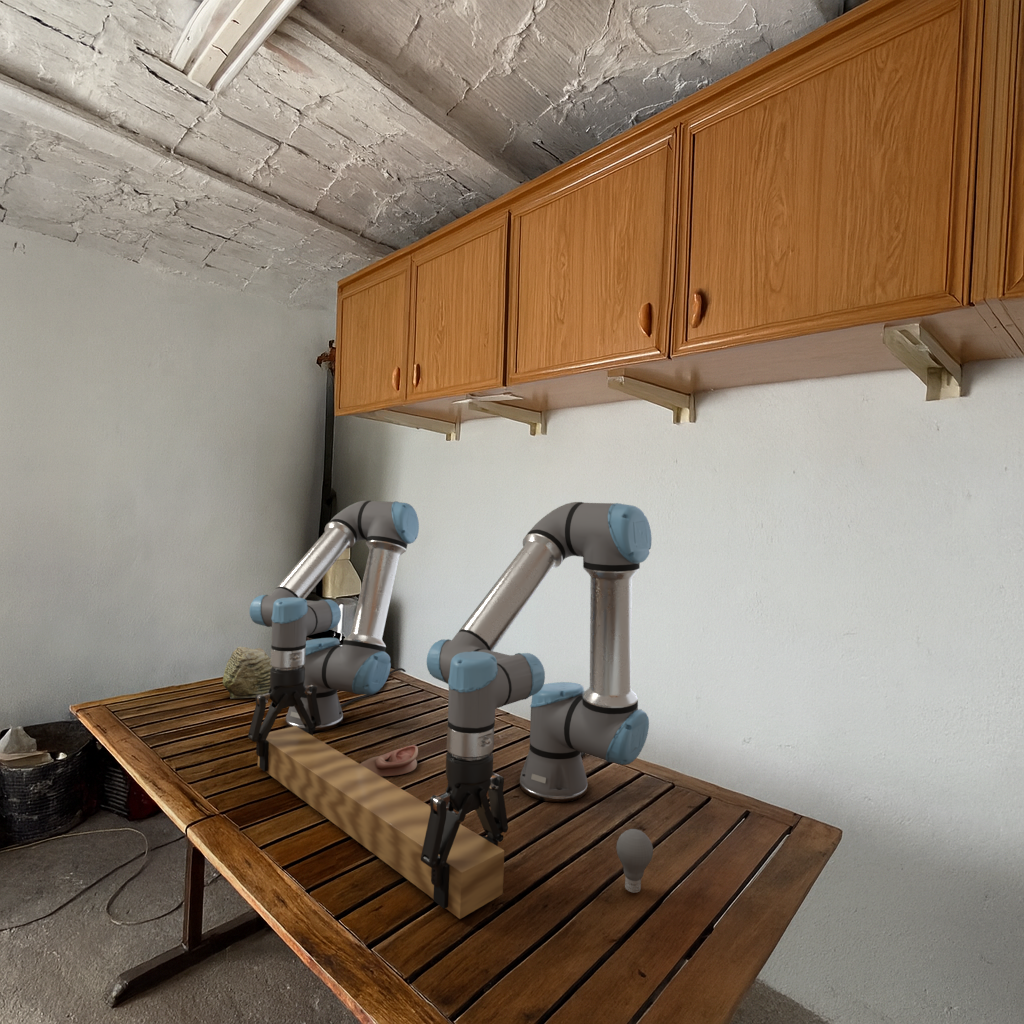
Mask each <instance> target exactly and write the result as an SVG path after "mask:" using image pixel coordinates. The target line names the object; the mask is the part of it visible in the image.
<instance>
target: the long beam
mask: <svg viewBox="0 0 1024 1024" xmlns="http://www.w3.org/2000/svg"><path fill="white" fill-rule="evenodd" d="M266 740H267V741H268V742H269V753H268V771H265V772H264V773H266V774H267V775H269V776H271V777H272V778H273V779H274V780H276V781H277V782H278V783H280V785H282V786H283V787H285V788H286V789H287V790H289V791H290V792H292V794H294V795H295V796H296V797H298V798H299V799H301V800H302V801H304V802H305V803H306V804H307V805H308V806H310V807H311V808H312V809H314V810H315V811H316V812H318V813H319V814H321V816H323V817H324V818H326V819H327V820H329V822H331V823H332V824H334V825H335V826H336V827H338V828H339V829H341V830H342V831H343V832H344V833H345V834H347V835H348V836H350V837H351V838H352V839H353V840H355V841H356V842H357V843H359V844H360V845H361V846H363V847H364V848H365V849H366V850H368V851H369V852H370V853H371V854H373V855H374V856H375V857H377V858H378V859H379V860H381V861H382V862H383V863H384V864H386V865H388V866H389V867H390V868H391V869H393V870H394V871H396V872H397V873H398V874H399V875H400V876H401V877H403V878H405V879H406V880H407V881H409V882H410V883H412V884H413V885H414V886H415V887H417V889H419V890H420V891H422V892H423V893H424V894H426V895H427V896H428V897H429V898H431V899H433V896H434V885H433V884H432V882H431V867H429V866H428V865H426V864H425V863H424V862H422V861H421V854H422V849H423V845H424V840H425V835H426V831H427V826H428V821H429V816H430V812H431V808H430V804H428V803H426V802H424V801H422V800H421V799H419V798H418V797H416V796H414V795H412V794H411V793H409V792H407V791H406V790H405V789H402V788H400V787H399V786H397V785H396V784H394V783H393V782H390V781H389V780H387V779H386V778H384V777H383V776H379V775H377V774H376V773H374V772H372V771H371V770H369V769H367V768H366V767H364V766H362V765H361V764H360V763H359V762H357V761H356V760H354V759H352V758H351V757H350V756H349V757H348V756H347V755H345V754H344V753H343V752H341V751H338V749H335V748H334V747H332V746H330V745H329V744H327V743H326V742H324V741H322V740H320V739H318V738H317V737H316V736H314V735H313V736H312V735H310V734H309V733H307V732H305V731H304V730H302V729H300V728H299V727H297V726H293V727H289V728H288V727H285V728H282V729H278V730H273V731H270V732H269V734H268V736H267V738H266ZM259 766H260V757H259V756H258V755H257V767H259ZM438 856H440V855H438ZM446 863H447V864H449V865H450V870H449V896H448V907H447V908H445V909H446V910H447V911H448V912H449V913H451V914H452V915H453V916H455V917H456V918H458V919H459V920H461V919H463V918H465V917H467V916H468V915H470V914H471V913H473V912H475V911H477V910H479V909H480V908H482V907H484V906H485V905H487V904H488V903H491V902H492V901H494V900H495V899H498V898H499V897H500V896H502V895H504V874H505V873H504V871H505V850H504V849H503V848H501V847H499V845H498V846H496V845H495V844H493V843H491V842H489V841H488V840H486V839H484V838H483V836H481V835H480V834H478V833H476V832H474V831H473V830H471V829H469V828H467V827H466V826H464V825H462V823H460V826H459V828H458V831H457V834H456V837H455V839H454V842H453V845H452V847H451V850H450V853H449V855H448V858H447V861H446Z"/></svg>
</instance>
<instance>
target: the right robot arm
mask: <svg viewBox="0 0 1024 1024" xmlns="http://www.w3.org/2000/svg"><path fill="white" fill-rule="evenodd" d="M650 525H651V524H650V522H649V520H648V518H647V516H646V515H645V513H644V511H643V510H641V508H639V507H638V506H636V505H632V504H625V503H619V502H614V503H612V502H582V501H573V502H569V503H565V504H562V505H560V506H558V507H556V508H554V509H553V510H551V511H550V512H549V513H546V515H544V516H543V517H542V518H541V519H539V520H538V521H537V522H536V523H534V525H533V526H532V527H531V529H530V530H529V531H528V532H527V534H526V535H525V536H524V537H523V540H522V548H521V549H520V550H519V552H518V553H517V554H516V556H515V557H514V558H513V559H512V561H511V562H510V564H509V565H508V566H507V567H506V569H505V570H504V571H503V573H502V574H501V575H500V576H499V577H498V579H497V581H496V582H495V583H494V584H493V585H492V587H491V588H490V590H489V591H488V592H487V593H486V595H485V596H484V597H483V599H482V600H481V601H480V602H479V604H478V605H477V606H476V608H475V609H474V611H473V612H472V613H471V615H470V616H469V617H468V618H467V620H466V621H465V622H464V624H463V625H462V626H461V627H460V629H459V630H458V631H457V632H456V634H455V635H454V637H453V638H452V639H449V638H448V639H440V640H437V641H436V642H434V643H433V644H432V645H431V646H430V648H429V650H428V653H427V656H426V668H427V671H428V672H429V675H431V676H432V677H433V678H434V679H436V680H438V681H440V682H443V683H445V684H447V685H448V694H447V695H448V702H447V703H448V704H447V726H446V727H447V728H446V747H445V748H446V751H447V753H446V754H445V755H446V756H445V776H446V779H447V786H446V788H445V792H444V793H442V794H440V795H439V796H438V795H435V794H433V795H432V796H431V797H430V800H429V806H430V808H431V812H430V816H429V821H428V826H427V831H426V835H425V840H424V845H423V849H422V854H421V861H422V862H424V863H425V864H426V865H428V866H429V867H431V882H432V884H433V885H434V896H433V898H432V901H433V902H435V903H436V904H437V905H438V906H439V907H440V908H442V909H443V910H445V909H446V908H447V907H448V896H449V870H450V865H449V864H447V863H446V861H447V858H448V855H449V853H450V850H451V847H452V845H453V842H454V839H455V837H456V834H457V831H458V828H459V826H460V824H462V823H463V822H464V821H465V819H466V816H467V814H469V813H471V812H472V811H475V812H476V814H477V817H478V819H479V822H480V824H481V826H482V829H483V831H484V833H485V835H483V836H482V837H483V838H484V839H486V840H488V841H489V842H491V843H493V844H495V845H496V846H498V847H499V843H502V842H503V841H504V835H503V833H507V832H508V830H509V823H508V822H509V821H508V817H507V810H506V802H505V796H504V785H505V778H504V777H503V776H502V775H499V774H497V773H495V772H494V753H493V752H494V746H495V725H496V723H495V722H496V710H497V709H499V708H502V707H503V706H507V705H510V704H514V703H516V702H520V701H523V700H527V699H529V698H531V702H530V706H529V707H530V722H529V723H530V725H529V747H528V748H529V749H528V753H527V756H526V759H525V761H524V764H523V766H522V768H521V771H520V775H519V776H520V777H519V787H520V790H522V791H523V792H524V794H526V795H528V796H530V797H532V798H533V799H537V800H539V801H544V802H550V803H551V802H552V803H567V802H572V801H576V800H578V799H581V798H583V797H584V796H585V795H586V794H587V792H588V777H587V774H586V770H585V766H584V762H583V758H582V757H584V756H585V754H586V755H589V756H591V757H595V758H598V759H601V760H603V761H606V762H607V763H613V764H617V765H621V766H627V765H629V764H631V763H633V762H634V761H635V760H637V758H638V757H639V755H640V754H641V752H642V750H643V748H644V746H645V744H646V741H647V737H648V735H649V729H650V719H649V716H648V713H646V712H645V711H644V710H642V709H640V708H639V696H638V694H637V693H635V691H634V690H633V689H632V623H633V622H632V619H633V618H632V617H633V616H632V612H633V577H634V576H635V575H636V574H637V573H638V572H639V571H640V567H641V565H640V564H641V563H643V562H645V561H646V560H647V559H648V558H649V555H650V550H651V549H652V539H653V538H652V537H653V536H652V530H651V526H650ZM570 557H579V558H582V568H583V570H584V571H585V572H586V573H587V574H588V575H589V578H590V579H589V581H590V583H589V584H590V586H589V587H590V588H589V589H590V590H589V592H590V594H589V602H590V603H589V687H588V688H586V689H584V686H583V685H581V683H578V682H569V681H568V682H567V681H559V682H550V683H549V682H548V683H545V679H546V671H545V667H544V665H543V663H542V661H541V660H540V658H539V657H537V656H536V655H534V654H533V653H531V652H522V653H521V652H518V653H514V654H511V655H510V654H506V653H505V654H504V653H502V652H497V651H495V649H496V648H497V646H498V645H499V644H500V642H501V640H502V639H503V638H504V636H505V635H506V634H507V632H508V631H509V629H510V628H511V627H512V625H513V624H514V622H515V621H516V620H517V618H518V617H519V615H520V614H521V612H522V611H523V610H524V608H525V607H526V606H527V604H528V603H529V601H530V600H531V599H532V597H533V595H535V593H536V592H537V591H538V588H540V586H541V584H543V581H544V580H545V579H546V577H547V576H548V574H549V573H550V572H551V570H552V569H557V568H558V567H560V566H561V565H562V563H563V561H564V560H566V559H567V558H570ZM487 794H488V795H487ZM457 812H458V813H457ZM438 855H440V856H438Z"/></svg>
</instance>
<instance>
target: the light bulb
mask: <svg viewBox="0 0 1024 1024" xmlns="http://www.w3.org/2000/svg"><path fill="white" fill-rule="evenodd" d="M615 849H616V854H617V857H618V859H619V861H620V863H621V865H622V867H623V873H624V874H623V875H624V876H625V878H624V888H625V890H627V891H628V892H630V893H634V894H635V893H639V892H640V891H641V889H642V887H641V886H642V879H643V877H644V875H645V871H646V868H647V867H648V866H649V864H650V863H651V861H652V859H653V855H654V847H653V843H652V841H651V838H649V836H648V835H647V834H646V833H645V832H643V831H642V830H641V829H636V828H629V829H627V830H625V831H623V832H622V833H621V834H620V835H619V837H618V839H617V841H616V847H615Z"/></svg>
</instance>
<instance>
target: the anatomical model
mask: <svg viewBox="0 0 1024 1024" xmlns="http://www.w3.org/2000/svg"><path fill="white" fill-rule="evenodd" d="M418 755H419V748H418V746H417V745H412V744H411V745H407V746H404V747H401V748H400V747H399V748H398V749H394V750H391V751H389V752H387V753H383V754H381V755H377V756H372V757H370V758H368V759H365V760H364V761H361V762H360V763H359V764H361V765H362V766H364V767H366V768H367V769H369V770H371V771H372V772H374V773H376V774H377V775H379V776H381V777H392V776H399V775H404V774H408V773H411V772H413V771H414V770H415V769H416V768H417V766H418V760H417V757H418Z"/></svg>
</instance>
